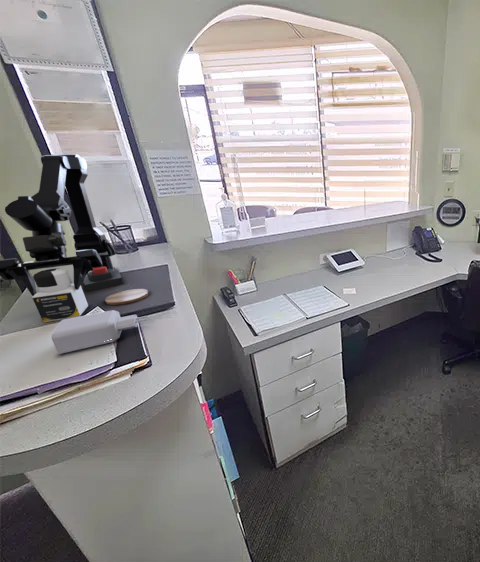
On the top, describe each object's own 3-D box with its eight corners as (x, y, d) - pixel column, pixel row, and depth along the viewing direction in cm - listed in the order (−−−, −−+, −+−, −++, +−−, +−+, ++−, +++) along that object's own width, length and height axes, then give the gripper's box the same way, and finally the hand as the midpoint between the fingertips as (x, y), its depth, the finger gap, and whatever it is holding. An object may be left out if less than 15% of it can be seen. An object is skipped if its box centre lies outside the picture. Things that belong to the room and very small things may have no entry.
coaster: (104, 297, 90) (103, 295, 90) (145, 288, 97) (144, 286, 96) (107, 308, 83) (106, 305, 83) (151, 297, 90) (150, 295, 89)
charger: (148, 335, 70) (59, 356, 62) (150, 319, 77) (70, 336, 70) (142, 317, 68) (49, 336, 61) (145, 302, 75) (63, 317, 68)
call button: (93, 273, 100) (91, 268, 99) (107, 270, 102) (105, 265, 101) (93, 275, 97) (91, 270, 97) (108, 273, 100) (106, 268, 99)
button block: (85, 283, 102) (81, 271, 100) (119, 276, 107) (116, 265, 106) (86, 291, 95) (82, 279, 93) (123, 283, 100) (119, 272, 99)
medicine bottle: (42, 323, 76) (22, 277, 71) (54, 311, 82) (36, 268, 77) (80, 316, 79) (62, 272, 75) (89, 306, 85) (73, 264, 80)
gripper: (-24, 226, 70) (-21, 286, 65) (85, 218, 80) (94, 269, 75) (3, 252, 79) (8, 307, 74) (98, 242, 89) (107, 289, 84)
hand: (55, 292), depth 77 cm, fingers closed on medicine bottle, 7 cm apart
